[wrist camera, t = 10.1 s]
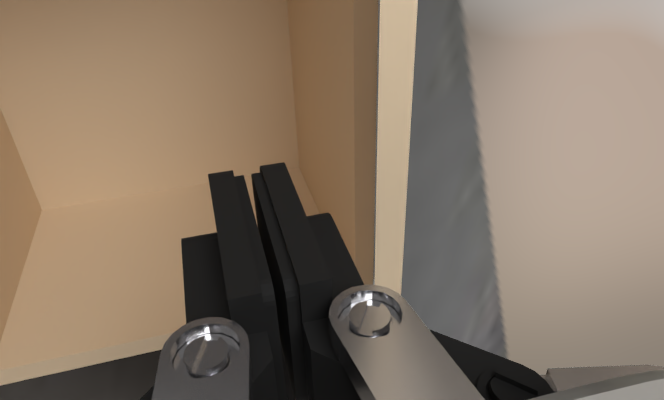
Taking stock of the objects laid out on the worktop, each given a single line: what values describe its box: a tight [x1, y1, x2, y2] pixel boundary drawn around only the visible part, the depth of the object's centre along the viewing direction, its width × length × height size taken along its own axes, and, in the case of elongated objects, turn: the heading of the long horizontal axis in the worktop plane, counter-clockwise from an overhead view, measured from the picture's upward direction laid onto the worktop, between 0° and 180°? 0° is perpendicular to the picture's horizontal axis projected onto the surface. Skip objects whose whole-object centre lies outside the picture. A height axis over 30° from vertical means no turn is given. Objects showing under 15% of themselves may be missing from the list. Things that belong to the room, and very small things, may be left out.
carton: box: [0, 0, 378, 385], centre depth 21 cm, size 20×16×12 cm
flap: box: [375, 0, 418, 295], centre depth 15 cm, size 20×8×1 cm
